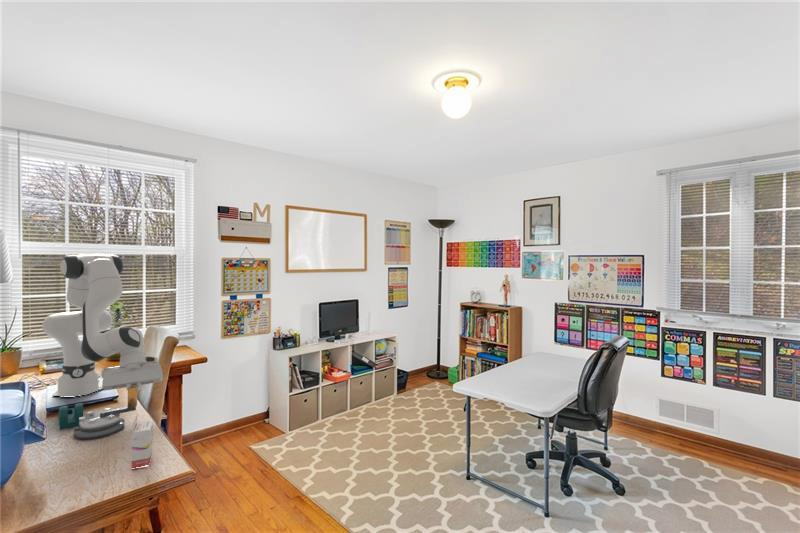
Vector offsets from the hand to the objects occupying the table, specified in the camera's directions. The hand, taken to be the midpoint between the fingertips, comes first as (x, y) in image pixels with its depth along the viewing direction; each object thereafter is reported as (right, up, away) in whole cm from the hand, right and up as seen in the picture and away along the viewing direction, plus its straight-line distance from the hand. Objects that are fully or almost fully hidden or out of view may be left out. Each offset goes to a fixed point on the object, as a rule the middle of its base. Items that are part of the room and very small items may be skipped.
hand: (134, 394), depth 152 cm
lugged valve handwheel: (-5, -8, -7) cm, 12 cm away
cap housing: (-7, -11, -9) cm, 15 cm away
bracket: (-25, -11, 0) cm, 27 cm away
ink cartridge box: (+24, -12, -30) cm, 40 cm away
